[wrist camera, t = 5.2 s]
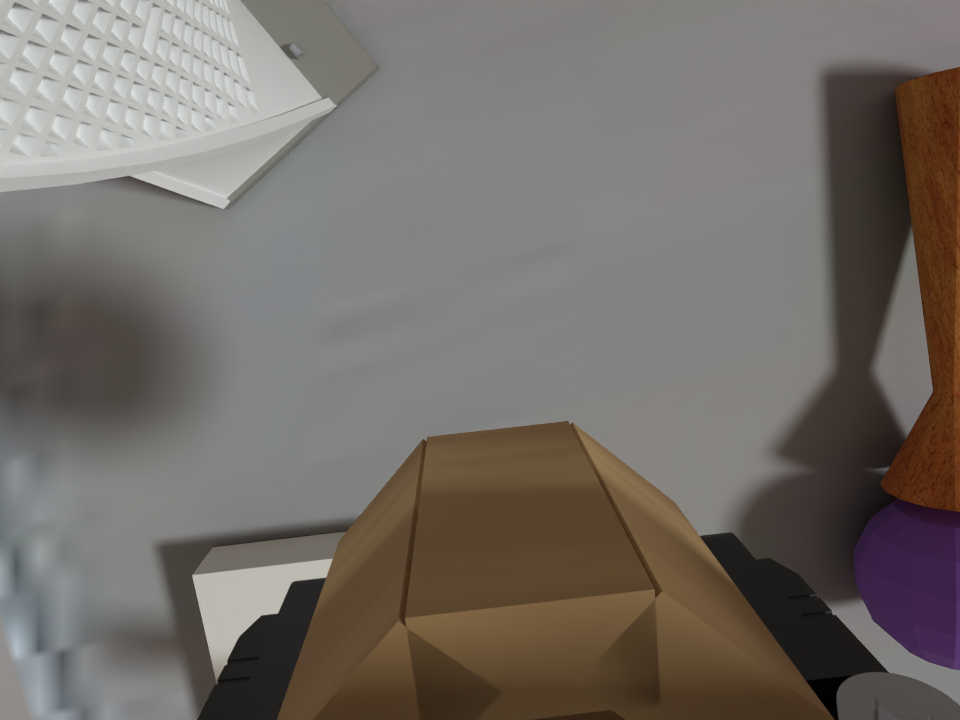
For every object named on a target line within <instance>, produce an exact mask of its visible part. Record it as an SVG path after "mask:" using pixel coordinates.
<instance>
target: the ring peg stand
mask: <svg viewBox="0 0 960 720" xmlns="http://www.w3.org/2000/svg"><path fill="white" fill-rule="evenodd" d="M346 532H347V531H346ZM346 532H338V533H329V534H321V535H312V536H304V537H295V538H287V539H279V540H270V541H262V542H253V543H245V544H236V545H228V546H219V547H212V549H211V550H210V551H209V553H208V554H207V556H206V557H205V558H204V560H203V561H202V562H201V564H200V565H199V567H198V568H197V569H196V571H195V572H194V573H193V575H192V577H193V581H194V586H195V590H196V595H197V599H198V603H199V608H200V612H201V617H202V621H203V625H204V630H205V634H206V638H207V643H208V647H209V652H210V656H211V660H212V665H213V669H214V674H215V678H216V682H217V680H218V678H219V676H220V674H221V672H222V670H223V668H224V666H225V665H227V660H228V658H229V656H230V654H231V652H232V650H233V648H234V646H235V644H236V642H237V640H238V638H239V636H240V635H241V634H243V633H244V632H245V631H246V630H247V629H248V628H249V627H250V626H251V625H252V624H253V623H254V622H255V621H256V620H257V619H258V618H259V617H260V616H261V615H270V614H278V612H279V610H280V608H281V605H282V603H283V601H284V599H285V596H286V594H287V592H288V589H289V587H290V585H291V583H292V582H294V581H300V580H309V579H318V578H326V577H327V574H328V571H329V568H330V565H331V563H332V560H333V557H334V554H335V551H336V548H337V545H338V542H339V540H340V539H341V538H342V537H343V535H344V534H345V533H346Z"/></svg>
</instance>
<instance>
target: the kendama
mask: <svg viewBox="0 0 960 720" xmlns="http://www.w3.org/2000/svg"><path fill="white" fill-rule="evenodd" d="M895 97H896V105H897V112H898V120H899V128H900V136H901V144H902V151H903V159H904V167H905V175H906V183H907V190H908V198H909V206H910V214H911V222H912V229H913V237H914V245H915V253H916V261H917V268H918V276H919V284H920V292H921V299H922V307H923V315H924V323H925V331H926V338H927V346H928V354H929V362H930V370H931V377H932V385H933V393H932V395H931V396H930V398H929V400H928V402H927V403H926V405H925V407H924V408H923V410H922V412H921V414H920V415H919V417H918V419H917V421H916V422H915V424H914V426H913V428H912V429H911V431H910V433H909V435H908V436H907V438H906V440H905V442H904V443H903V445H902V447H901V449H900V450H899V452H898V454H897V455H896V457H895V459H894V461H893V462H892V464H891V466H890V468H889V469H888V471H887V473H886V475H885V476H884V478H883V480H882V482H881V483H880V484H881V485H882V487H883V489H884V490H885V492H887V493H889V494H891V495H893V496H895V497H897V498H898V499H897V500H895V501H894V502H892V503H891V504H889V505H888V506H886V507H885V508H883V509H882V510H880V511H879V512H877V513H875V514H874V516H873V517H872V518H871V519H870V521H869V522H868V523H867V525H866V527H865V529H864V531H863V533H862V535H861V536H860V538H859V540H858V542H857V544H856V546H855V548H854V578H855V581H856V584H857V587H858V590H859V592H860V595H861V597H862V599H863V601H864V603H865V605H866V607H867V609H868V611H869V613H870V615H871V617H872V619H873V621H874V622H875V623H876V624H878V625H879V626H880V627H881V628H882V629H883V630H885V631H886V632H887V633H888V634H889V635H890V636H891V637H893V638H894V639H895V640H896V641H897V642H899V643H900V644H901V645H902V646H903V647H904V648H906V649H907V650H908V651H909V652H910V653H912V654H914V655H916V656H918V657H920V658H922V659H924V660H926V661H928V662H930V663H934V664H937V665H940V666H944V667H947V668H951V669H956V670H960V67H958V68H953V69H949V70H944V71H940V72H936V73H932V74H928V75H925V76H922V77H918V78H915V79H912V80H909V81H907V82H905V83H902V84H900V85H898V86H897V87H896V88H895Z"/></svg>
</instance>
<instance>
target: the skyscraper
mask: <svg viewBox="0 0 960 720" xmlns="http://www.w3.org/2000/svg"><path fill="white" fill-rule="evenodd" d="M378 69H379V67H378V65H377V64H376V63H375V62H374V60H373V59H372V58H371V57H370V56H369V54H368V53H367V52H366V51H365V50H364V48H363V47H362V46H361V45H360V44H359V42H358V41H357V40H356V39H355V37H354V36H353V35H352V34H351V33H350V31H349V30H348V29H347V28H346V27H345V25H344V24H343V23H342V22H341V21H340V19H339V18H338V17H337V16H336V15H335V13H334V12H333V11H332V10H331V9H330V7H329V6H328V5H327V4H326V2H325V1H324V0H0V192H6V191H15V190H25V189H35V188H45V187H55V186H65V185H75V184H82V183H88V182H94V181H100V180H106V179H112V178H118V177H124V176H131V177H134V178H137V179H140V180H142V181H145V182H148V183H151V184H154V185H156V186H159V187H162V188H165V189H168V190H170V191H173V192H176V193H179V194H182V195H185V196H187V197H190V198H193V199H196V200H199V201H202V202H205V203H207V204H210V205H213V206H216V207H219V208H222V209H229V208H230V207H231V206H232V205H233V204H234V203H235V202H236V201H237V200H239V199H240V198H241V197H242V196H243V195H244V194H245V193H246V192H247V191H248V190H249V189H250V188H251V187H253V186H254V185H255V184H256V183H257V182H258V181H259V180H260V179H261V178H262V177H263V176H264V175H265V174H266V173H268V172H269V171H270V170H271V169H272V168H273V167H274V166H275V165H276V164H277V163H278V162H279V161H280V160H281V159H283V158H284V157H285V156H286V155H287V154H288V153H289V152H290V151H291V150H292V149H293V148H294V147H295V146H296V145H298V144H299V143H300V142H301V141H302V140H303V139H304V138H305V137H306V136H307V135H308V134H309V133H310V132H312V131H313V130H314V129H315V128H316V127H317V126H318V125H319V124H320V123H321V122H322V121H323V120H324V119H325V118H327V117H328V116H329V115H330V114H331V113H332V112H333V111H334V110H335V109H336V108H337V107H338V106H339V105H340V104H342V103H343V102H344V101H345V100H346V99H347V98H348V97H349V96H350V95H351V94H352V93H353V92H354V91H355V90H357V89H358V88H359V87H360V86H361V85H362V84H363V83H364V82H365V81H366V80H367V79H368V78H369V77H370V76H372V75H373V74H374V73H375V72H376V71H377V70H378Z"/></svg>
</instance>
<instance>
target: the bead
mask: <svg viewBox="0 0 960 720" xmlns="http://www.w3.org/2000/svg"><path fill="white" fill-rule="evenodd" d="M277 720H834V719H833V717H832V716H831V714H830V713H829V712H828V710H827V709H826V708H825V706H824V705H823V704H822V702H821V701H820V699H819V698H818V697H817V695H816V694H815V693H814V691H813V690H812V689H811V687H810V686H809V684H808V683H807V682H806V680H805V679H804V678H803V676H802V675H801V674H800V672H799V671H798V669H797V668H796V667H795V665H794V664H793V663H792V661H791V660H790V659H789V657H788V656H787V654H786V653H785V652H784V650H783V649H782V648H781V646H780V645H779V644H778V642H777V641H776V640H775V638H774V637H773V635H772V634H771V633H770V631H769V630H768V629H767V627H766V626H765V625H764V623H763V622H762V620H761V619H760V618H759V616H758V615H757V614H756V612H755V611H754V610H753V608H752V607H751V605H750V604H749V603H748V601H747V600H746V599H745V597H744V596H743V595H742V593H741V592H740V590H739V589H738V588H737V586H736V585H735V584H734V582H733V581H732V580H731V578H730V577H729V576H728V574H727V573H726V571H725V570H724V569H723V567H722V566H721V565H720V563H719V562H718V561H717V559H716V558H715V556H714V555H713V554H712V552H711V551H710V550H709V548H708V547H707V546H706V544H705V543H704V541H703V540H702V539H701V537H700V536H699V535H698V533H697V532H696V531H695V529H694V528H693V526H692V525H691V524H690V522H689V521H688V520H687V518H686V517H685V516H684V514H683V513H682V512H681V510H680V509H679V507H678V506H677V505H676V503H675V502H674V501H672V500H671V499H670V498H668V497H667V496H666V495H665V494H663V493H662V492H661V491H659V490H658V489H657V488H656V487H654V486H653V485H652V484H651V483H649V482H648V481H647V480H645V479H644V478H643V477H642V476H640V475H639V474H638V473H636V472H635V471H634V470H633V469H631V468H630V467H629V466H628V465H626V464H625V463H624V462H622V461H621V460H620V459H619V458H617V457H616V456H615V455H613V454H612V453H611V452H610V451H608V450H607V449H606V448H605V447H603V446H602V445H601V444H599V443H598V442H597V441H596V440H594V439H593V438H592V437H590V436H589V435H588V434H587V433H585V432H584V431H583V430H582V429H580V428H579V427H578V426H576V425H575V424H574V423H573V422H572V423H571V425H570V424H569V422H568V421H565V422H556V423H547V424H538V425H529V426H521V427H512V428H503V429H494V430H485V431H476V432H467V433H458V434H449V435H440V436H431V437H427V441H425V440H424V439H423V440H422V441H421V442H420V444H419V445H418V446H417V447H416V448H415V450H414V451H413V452H412V453H411V455H410V456H409V457H408V458H407V459H406V461H405V462H404V463H403V464H402V465H401V467H400V468H399V469H398V470H397V471H396V473H395V474H394V475H393V476H392V477H391V479H390V480H389V481H388V482H387V484H386V485H385V486H384V487H383V488H382V490H381V491H380V492H379V493H378V494H377V496H376V497H375V498H374V499H373V500H372V502H371V503H370V504H369V505H368V506H367V508H366V509H365V510H364V511H363V513H362V514H361V515H360V516H359V517H358V519H357V520H356V521H355V522H354V523H353V525H352V526H351V527H350V528H349V529H348V531H347V532H346V533H345V534H344V535H343V537H342V538H341V539H340V540H339V542H338V545H337V548H336V551H335V554H334V557H333V560H332V563H331V565H330V568H329V571H328V574H327V577H326V580H325V583H324V586H323V588H322V591H321V594H320V597H319V600H318V603H317V606H316V609H315V611H314V614H313V617H312V620H311V623H310V626H309V629H308V632H307V634H306V637H305V640H304V643H303V646H302V649H301V652H300V655H299V657H298V660H297V663H296V666H295V669H294V672H293V675H292V678H291V680H290V683H289V686H288V689H287V692H286V695H285V698H284V701H283V703H282V706H281V709H280V712H279V715H278V718H277Z"/></svg>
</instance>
